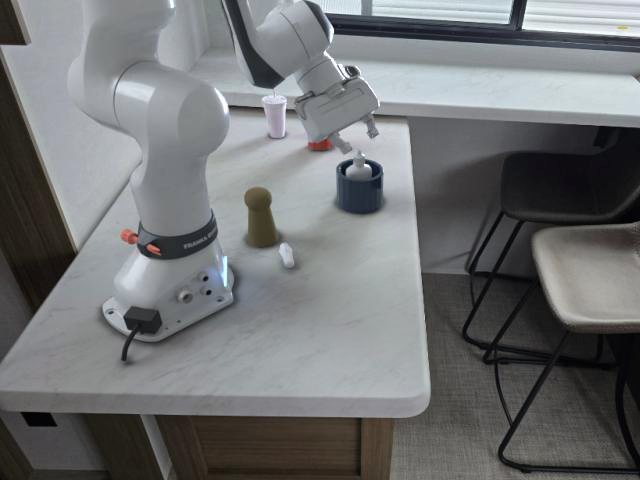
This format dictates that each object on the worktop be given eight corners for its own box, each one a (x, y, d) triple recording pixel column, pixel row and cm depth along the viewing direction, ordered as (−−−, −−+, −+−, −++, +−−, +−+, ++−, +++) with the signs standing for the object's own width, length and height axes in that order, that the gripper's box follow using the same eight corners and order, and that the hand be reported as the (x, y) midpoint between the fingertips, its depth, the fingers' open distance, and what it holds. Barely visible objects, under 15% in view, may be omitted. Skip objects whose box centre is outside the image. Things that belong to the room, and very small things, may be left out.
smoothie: (292, 131, 150) (288, 78, 141) (286, 141, 145) (281, 87, 136) (268, 128, 150) (263, 76, 141) (262, 139, 145) (256, 85, 136)
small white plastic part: (273, 270, 105) (272, 257, 103) (281, 251, 109) (280, 239, 107) (292, 272, 105) (291, 259, 102) (299, 253, 109) (298, 240, 107)
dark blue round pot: (364, 219, 120) (365, 186, 114) (327, 203, 123) (326, 171, 118) (391, 199, 126) (392, 167, 121) (354, 185, 130) (355, 154, 125)
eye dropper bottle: (369, 205, 123) (371, 155, 115) (344, 203, 123) (344, 153, 115) (372, 195, 126) (373, 146, 118) (347, 193, 126) (347, 144, 118)
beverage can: (304, 143, 145) (302, 97, 137) (328, 139, 147) (326, 95, 139) (312, 153, 141) (309, 107, 133) (335, 149, 143) (334, 104, 135)
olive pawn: (271, 249, 110) (266, 201, 102) (243, 244, 110) (235, 196, 103) (282, 232, 114) (278, 185, 107) (255, 227, 115) (248, 180, 108)
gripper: (297, 91, 103) (340, 155, 106) (362, 64, 117) (398, 121, 119) (281, 108, 108) (322, 169, 111) (345, 80, 121) (380, 135, 124)
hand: (362, 144), depth 115 cm, fingers open, 8 cm apart
